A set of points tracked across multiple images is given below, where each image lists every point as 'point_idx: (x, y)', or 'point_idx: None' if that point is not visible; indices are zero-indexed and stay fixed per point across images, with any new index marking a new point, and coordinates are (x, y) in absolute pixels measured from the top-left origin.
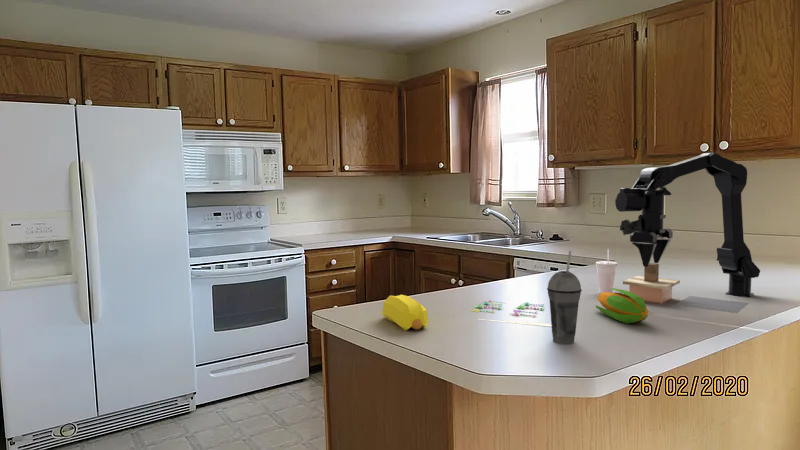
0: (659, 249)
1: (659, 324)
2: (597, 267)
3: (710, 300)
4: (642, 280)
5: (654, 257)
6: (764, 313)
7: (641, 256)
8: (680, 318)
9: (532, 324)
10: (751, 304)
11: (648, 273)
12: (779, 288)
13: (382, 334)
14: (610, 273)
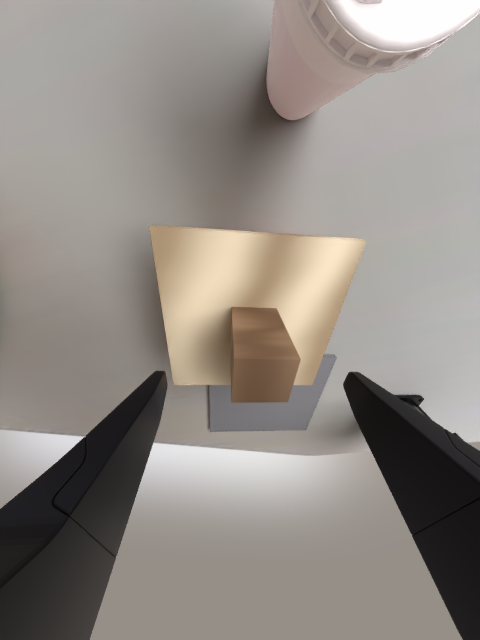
0: (409, 481)
1: (7, 369)
2: None
3: (300, 392)
4: (240, 297)
5: (370, 398)
6: (249, 444)
7: (95, 430)
8: (101, 383)
9: None
10: (311, 428)
11: (231, 342)
12: (475, 432)
13: None
14: (296, 50)
